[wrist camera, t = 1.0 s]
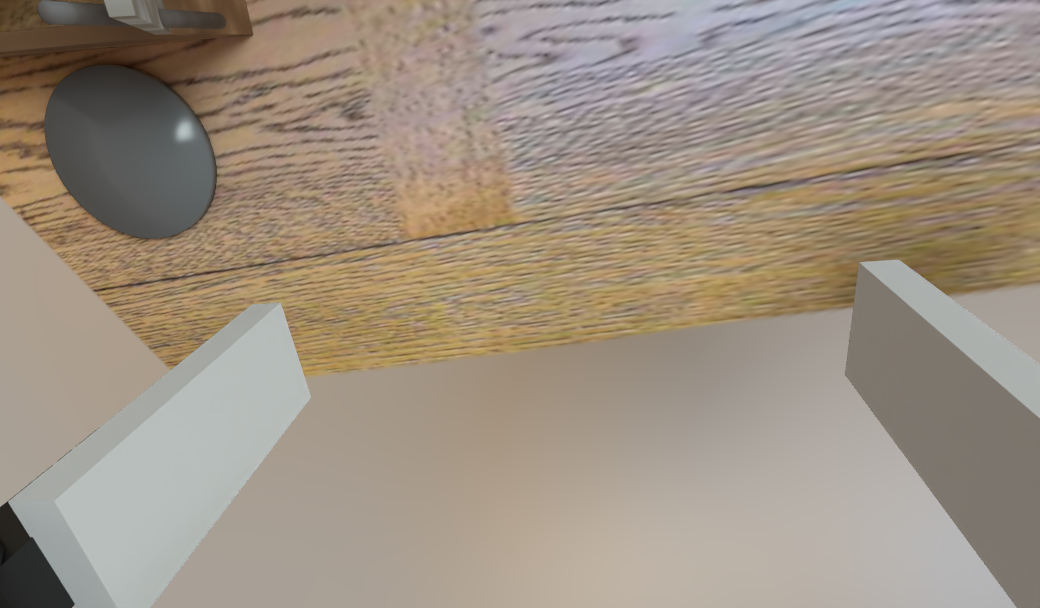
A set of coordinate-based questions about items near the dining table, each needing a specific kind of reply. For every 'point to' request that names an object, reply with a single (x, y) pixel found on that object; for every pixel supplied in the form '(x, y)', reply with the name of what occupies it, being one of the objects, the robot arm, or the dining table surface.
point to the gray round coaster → (130, 151)
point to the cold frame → (126, 25)
